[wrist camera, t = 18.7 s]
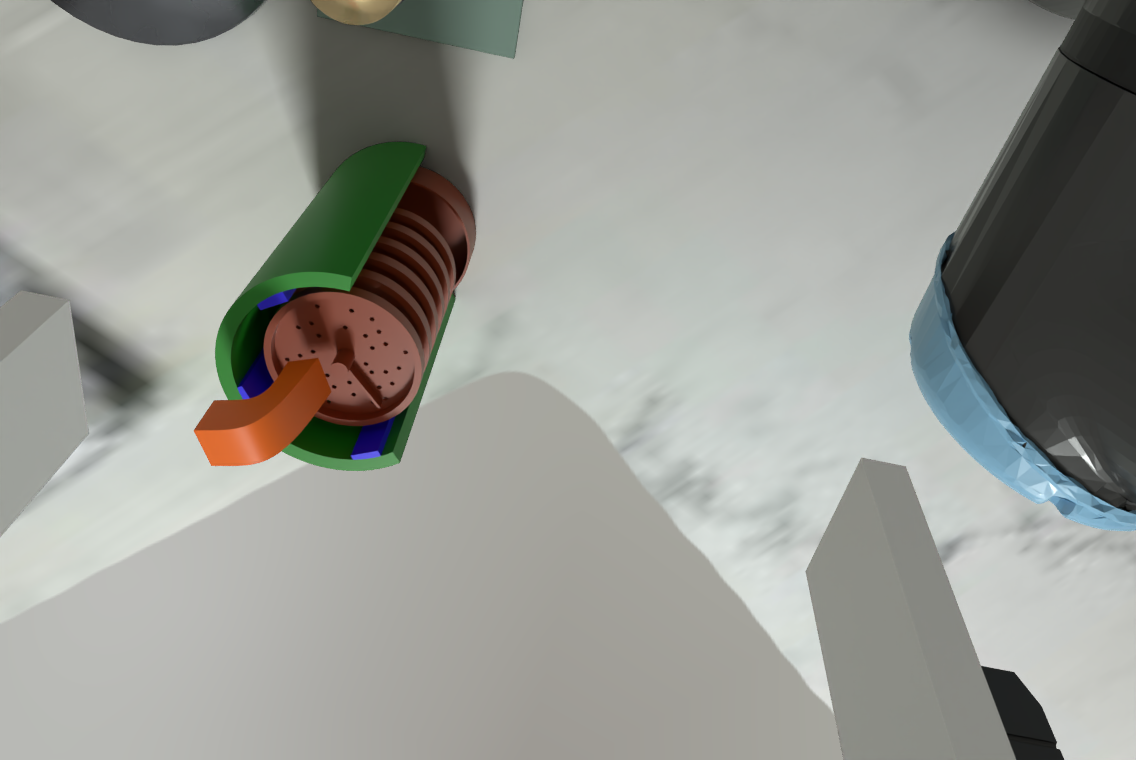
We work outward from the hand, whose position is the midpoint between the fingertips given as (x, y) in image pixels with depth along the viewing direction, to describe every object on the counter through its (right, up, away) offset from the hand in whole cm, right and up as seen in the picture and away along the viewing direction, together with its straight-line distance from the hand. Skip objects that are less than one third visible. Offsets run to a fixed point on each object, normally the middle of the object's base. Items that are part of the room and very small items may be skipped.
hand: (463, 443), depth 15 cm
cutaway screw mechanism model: (-8, +10, +36) cm, 38 cm away
